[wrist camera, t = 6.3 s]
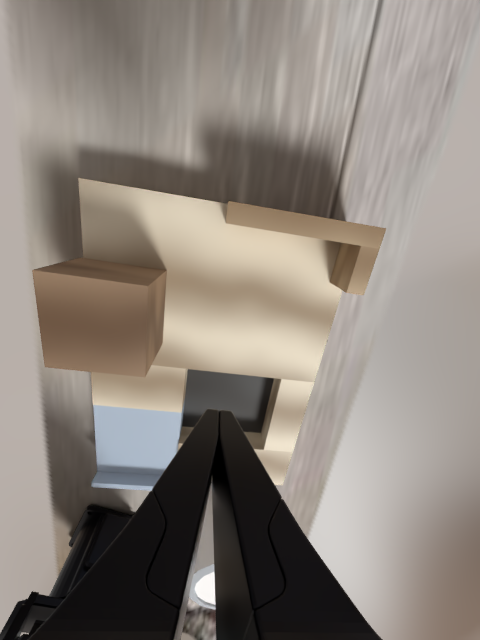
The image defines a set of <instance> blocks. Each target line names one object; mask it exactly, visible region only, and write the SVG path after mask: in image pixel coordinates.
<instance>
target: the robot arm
mask: <svg viewBox="0 0 480 640" xmlns="http://www.w3.org/2000/svg"><path fill="white" fill-rule="evenodd" d="M211 481H212V510H213V543H214V575H215V607H216V639H217V640H382V639H381V638H380V637H379V636H378V635H377V634H376V632H375V631H374V630H373V629H372V628H371V626H370V625H369V624H368V623H367V621H366V620H365V619H364V617H363V616H362V615H361V613H360V612H359V611H358V609H357V608H356V606H355V605H354V604H353V602H352V601H351V600H350V598H349V597H348V595H347V594H346V593H345V591H344V590H343V588H342V587H341V586H340V584H339V583H338V581H337V580H336V578H335V577H334V576H333V574H332V573H331V571H330V570H329V569H328V567H327V566H326V565H325V563H324V562H323V560H322V559H321V558H320V556H319V555H318V553H317V552H316V551H315V549H314V548H313V546H312V545H311V543H310V542H309V540H308V539H307V537H306V536H305V534H304V533H303V531H302V530H301V528H300V527H299V525H298V523H297V522H296V520H295V518H294V517H293V515H292V514H291V512H290V510H289V509H288V507H287V505H286V503H285V502H284V500H283V499H281V498H282V497H281V495H280V493H279V491H278V490H277V488H276V486H275V485H274V483H273V481H272V479H271V478H270V476H269V474H268V473H267V471H266V469H265V467H264V466H263V464H262V462H261V461H260V459H259V457H258V455H257V454H256V452H255V450H254V449H253V447H252V445H251V443H250V442H249V440H248V438H247V437H246V435H245V433H244V431H243V430H242V428H241V426H240V424H239V423H238V421H237V419H236V418H235V416H234V414H233V412H232V411H229V410H220V411H219V410H217V409H206V411H205V412H204V414H203V415H202V416H201V418H200V419H199V421H198V422H197V424H196V425H195V427H194V428H193V430H192V431H191V433H190V434H189V436H188V437H187V438H186V440H185V441H184V443H183V444H182V446H181V447H180V449H179V450H178V452H177V453H176V455H175V456H174V458H173V459H172V460H171V462H170V463H169V465H168V466H167V468H166V469H165V471H164V472H163V474H162V475H161V477H160V478H159V480H158V481H157V482H156V484H155V485H154V487H153V488H152V491H150V492H149V494H148V495H147V497H146V498H145V500H144V501H143V503H142V504H141V506H140V507H139V508H138V510H137V511H136V512H135V514H134V515H133V517H132V516H129V515H125V514H122V513H118V512H115V511H111V510H107V509H104V508H100V507H97V506H92V505H90V506H88V507H87V508H86V510H85V512H84V514H83V516H82V518H81V520H80V522H79V524H78V526H77V528H76V530H75V532H74V534H73V536H72V538H71V540H70V542H69V546H70V547H72V549H71V551H70V553H69V555H68V557H67V559H66V561H65V563H64V566H63V568H62V570H61V572H60V574H59V576H58V578H57V580H56V583H55V585H54V587H53V589H52V591H51V593H50V595H49V596H45V595H40V594H39V593H38V592H33V591H32V592H31V594H30V596H29V598H28V599H26V600H23V601H19V602H18V603H17V604H16V606H15V608H14V610H13V612H12V614H11V615H10V617H9V619H8V621H7V623H6V624H5V626H4V628H3V630H2V632H1V634H0V640H181V635H182V630H183V625H184V619H185V614H186V609H187V604H188V599H189V594H190V589H191V584H192V579H193V574H194V569H195V564H196V558H197V553H198V548H199V543H200V538H201V533H202V528H203V523H204V518H205V513H206V508H207V503H208V498H209V492H210V487H211ZM21 632H26V633H29V635H28V634H23V635H22V636H20V634H21ZM19 636H20V637H19Z"/></svg>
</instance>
